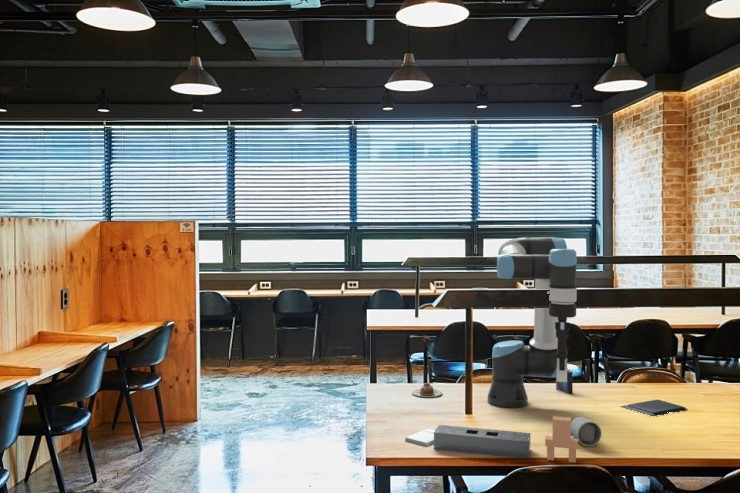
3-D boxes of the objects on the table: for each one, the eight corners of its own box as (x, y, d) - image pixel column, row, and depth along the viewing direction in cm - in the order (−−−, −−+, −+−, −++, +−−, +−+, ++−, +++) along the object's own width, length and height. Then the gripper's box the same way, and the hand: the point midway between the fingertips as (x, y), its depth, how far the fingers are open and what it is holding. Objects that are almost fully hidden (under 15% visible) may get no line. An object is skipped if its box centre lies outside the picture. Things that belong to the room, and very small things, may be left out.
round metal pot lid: (442, 391, 260) (442, 380, 260) (441, 399, 248) (441, 388, 248) (413, 390, 262) (413, 379, 262) (411, 398, 250) (411, 387, 250)
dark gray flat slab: (652, 413, 224) (618, 402, 238) (652, 419, 224) (618, 407, 238) (691, 407, 232) (656, 397, 246) (691, 412, 232) (656, 401, 246)
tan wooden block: (545, 456, 185) (545, 415, 185) (577, 459, 183) (578, 418, 182) (545, 459, 183) (545, 418, 182) (577, 463, 180) (578, 421, 180)
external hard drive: (405, 442, 199) (427, 432, 209) (426, 448, 194) (448, 437, 204) (405, 437, 199) (427, 427, 209) (426, 442, 194) (448, 432, 203)
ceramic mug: (590, 437, 202) (590, 413, 202) (602, 446, 194) (601, 421, 194) (558, 439, 201) (558, 415, 201) (568, 448, 193) (568, 423, 193)
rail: (438, 440, 199) (438, 424, 199) (530, 449, 191) (530, 433, 191) (433, 448, 192) (433, 432, 191) (529, 458, 183) (529, 441, 183)
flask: (554, 388, 264) (554, 363, 263) (560, 388, 265) (560, 362, 264) (568, 394, 255) (569, 367, 255) (574, 393, 256) (575, 367, 256)
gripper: (549, 297, 194) (549, 366, 195) (547, 307, 171) (547, 385, 171) (575, 298, 192) (574, 368, 193) (577, 308, 168) (576, 387, 169)
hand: (561, 376), depth 182 cm, fingers open, 13 cm apart
